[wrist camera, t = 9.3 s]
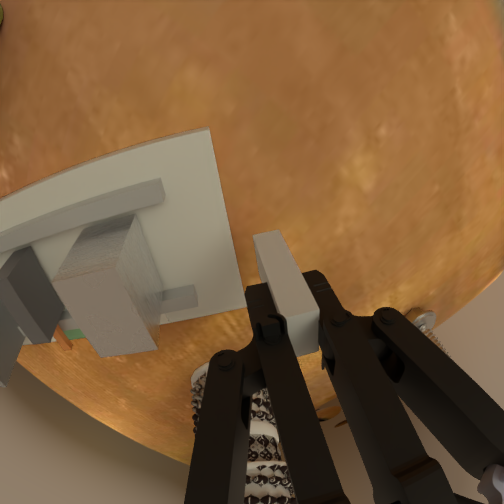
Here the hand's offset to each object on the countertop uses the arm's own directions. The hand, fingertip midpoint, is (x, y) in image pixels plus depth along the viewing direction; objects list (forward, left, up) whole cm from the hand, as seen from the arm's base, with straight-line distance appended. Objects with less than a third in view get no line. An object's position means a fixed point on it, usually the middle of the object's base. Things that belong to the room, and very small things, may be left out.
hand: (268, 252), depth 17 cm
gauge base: (0, -14, -5) cm, 15 cm away
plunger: (0, -10, -3) cm, 10 cm away
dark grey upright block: (+2, -18, -3) cm, 18 cm away
